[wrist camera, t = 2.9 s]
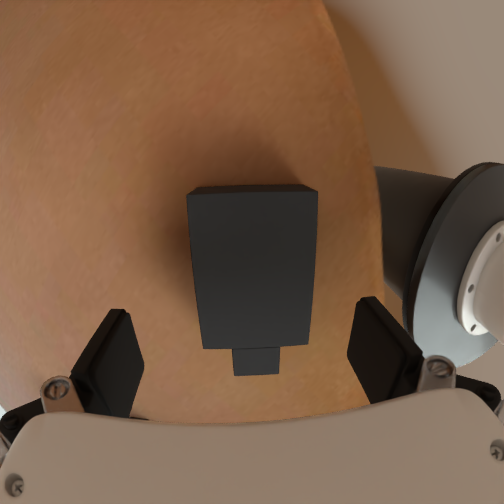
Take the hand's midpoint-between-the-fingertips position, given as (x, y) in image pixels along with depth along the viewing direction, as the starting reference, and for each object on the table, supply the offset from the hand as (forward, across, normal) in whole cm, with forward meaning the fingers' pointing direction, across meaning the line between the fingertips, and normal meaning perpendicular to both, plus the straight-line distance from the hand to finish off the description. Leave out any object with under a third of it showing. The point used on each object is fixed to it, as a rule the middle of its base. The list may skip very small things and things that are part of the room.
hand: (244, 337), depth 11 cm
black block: (+9, -1, +1) cm, 9 cm away
